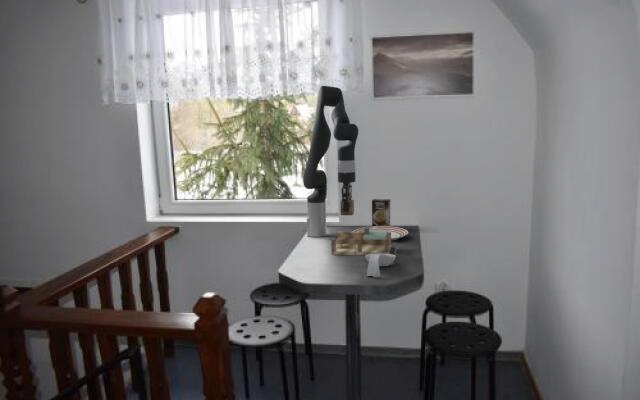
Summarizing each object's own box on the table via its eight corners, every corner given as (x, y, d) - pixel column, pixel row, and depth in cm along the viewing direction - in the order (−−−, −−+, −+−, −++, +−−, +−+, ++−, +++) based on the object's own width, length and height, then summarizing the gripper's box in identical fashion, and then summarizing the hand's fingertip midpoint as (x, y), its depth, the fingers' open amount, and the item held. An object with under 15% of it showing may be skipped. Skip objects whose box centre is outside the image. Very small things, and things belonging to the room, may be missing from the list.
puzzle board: (331, 255, 210) (331, 239, 209) (338, 247, 226) (337, 231, 225) (388, 257, 205) (388, 240, 204) (391, 247, 221) (391, 232, 220)
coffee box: (371, 230, 261) (371, 200, 259) (374, 228, 268) (373, 198, 265) (388, 231, 259) (388, 200, 257) (390, 228, 265) (390, 198, 263)
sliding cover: (363, 239, 207) (362, 231, 206) (367, 231, 222) (367, 224, 222) (384, 239, 205) (384, 231, 204) (387, 231, 220) (387, 224, 220)
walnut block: (340, 215, 213) (340, 201, 212) (342, 213, 218) (342, 199, 217) (352, 215, 212) (352, 201, 211) (353, 213, 217) (353, 199, 216)
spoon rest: (368, 260, 201) (367, 243, 200) (397, 261, 198) (397, 244, 198) (357, 277, 179) (357, 258, 178) (390, 279, 176) (390, 259, 175)
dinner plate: (407, 244, 228) (407, 237, 227) (348, 243, 233) (348, 236, 233) (409, 232, 254) (408, 226, 254) (355, 232, 260) (355, 225, 259)
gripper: (340, 169, 220) (341, 207, 222) (334, 172, 206) (335, 213, 208) (357, 169, 218) (358, 207, 221) (352, 172, 204) (353, 213, 207)
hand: (347, 210), depth 214 cm, fingers closed on walnut block, 5 cm apart
